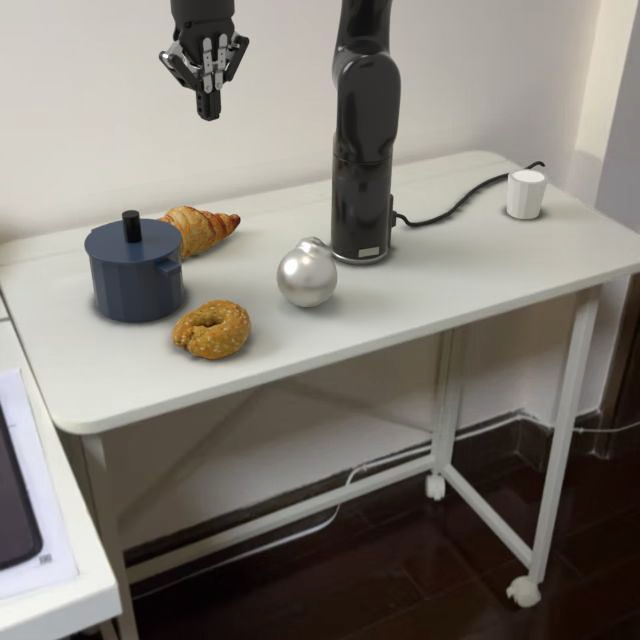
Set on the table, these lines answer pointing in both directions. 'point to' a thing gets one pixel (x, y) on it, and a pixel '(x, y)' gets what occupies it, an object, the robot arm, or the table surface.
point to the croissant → (200, 228)
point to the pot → (138, 289)
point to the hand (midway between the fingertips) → (209, 118)
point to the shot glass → (525, 193)
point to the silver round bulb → (307, 273)
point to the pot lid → (133, 240)
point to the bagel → (213, 329)
